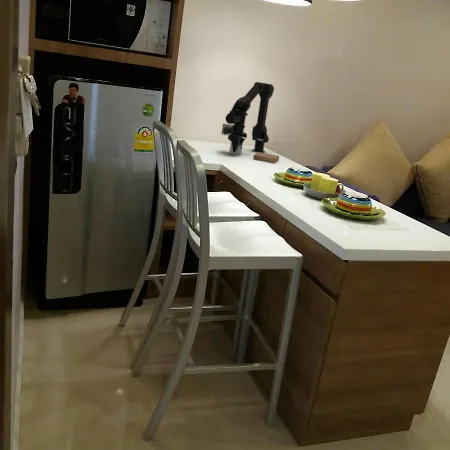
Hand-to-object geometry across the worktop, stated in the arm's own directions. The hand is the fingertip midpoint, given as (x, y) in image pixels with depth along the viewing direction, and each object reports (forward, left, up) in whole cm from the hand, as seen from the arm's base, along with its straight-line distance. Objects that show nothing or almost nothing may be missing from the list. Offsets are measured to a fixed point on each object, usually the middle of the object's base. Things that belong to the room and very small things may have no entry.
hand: (235, 151), depth 291 cm
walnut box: (0, +18, -2) cm, 18 cm away
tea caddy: (0, 0, -2) cm, 2 cm away
